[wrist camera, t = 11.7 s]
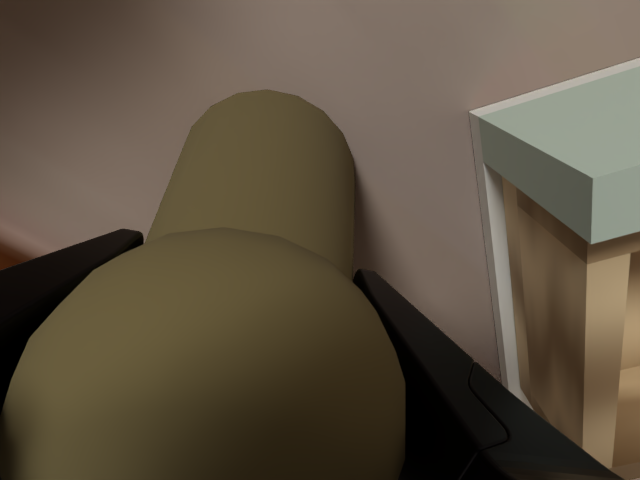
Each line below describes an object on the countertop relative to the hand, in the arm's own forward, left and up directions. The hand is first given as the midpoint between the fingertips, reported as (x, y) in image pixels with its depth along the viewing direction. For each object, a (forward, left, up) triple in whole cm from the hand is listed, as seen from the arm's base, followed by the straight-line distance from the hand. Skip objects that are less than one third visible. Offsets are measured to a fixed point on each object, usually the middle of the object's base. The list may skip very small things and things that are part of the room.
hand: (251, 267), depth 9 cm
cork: (0, 0, -6) cm, 6 cm away
